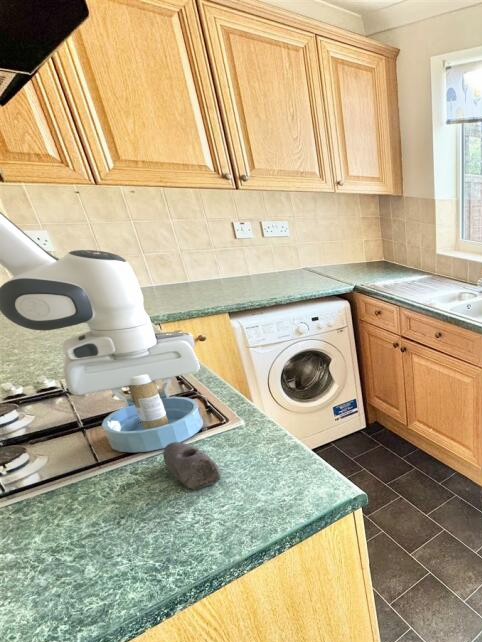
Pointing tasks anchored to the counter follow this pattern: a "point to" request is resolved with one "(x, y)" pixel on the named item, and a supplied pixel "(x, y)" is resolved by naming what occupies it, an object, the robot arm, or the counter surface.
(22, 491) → the counter surface
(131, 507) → the counter surface
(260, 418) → the counter surface
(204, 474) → the perforated stone tool
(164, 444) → the bowl
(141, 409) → the sprinkles bottle
